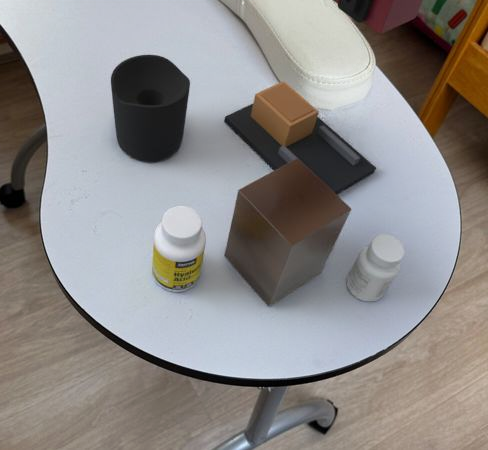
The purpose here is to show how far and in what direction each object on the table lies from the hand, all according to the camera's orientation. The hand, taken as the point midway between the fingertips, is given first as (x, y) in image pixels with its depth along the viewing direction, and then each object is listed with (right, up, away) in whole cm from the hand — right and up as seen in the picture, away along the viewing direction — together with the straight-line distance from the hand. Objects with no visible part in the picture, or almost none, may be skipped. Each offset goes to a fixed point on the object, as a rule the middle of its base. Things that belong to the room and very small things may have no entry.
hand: (372, 3), depth 56 cm
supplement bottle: (-19, -27, +10) cm, 34 cm away
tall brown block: (-8, -26, +11) cm, 29 cm away
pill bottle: (+2, -28, +11) cm, 30 cm away
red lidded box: (0, 0, 0) cm, 0 cm away
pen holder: (-23, -10, +22) cm, 33 cm away
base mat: (-3, -11, +23) cm, 25 cm away
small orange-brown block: (-5, -8, +23) cm, 25 cm away
